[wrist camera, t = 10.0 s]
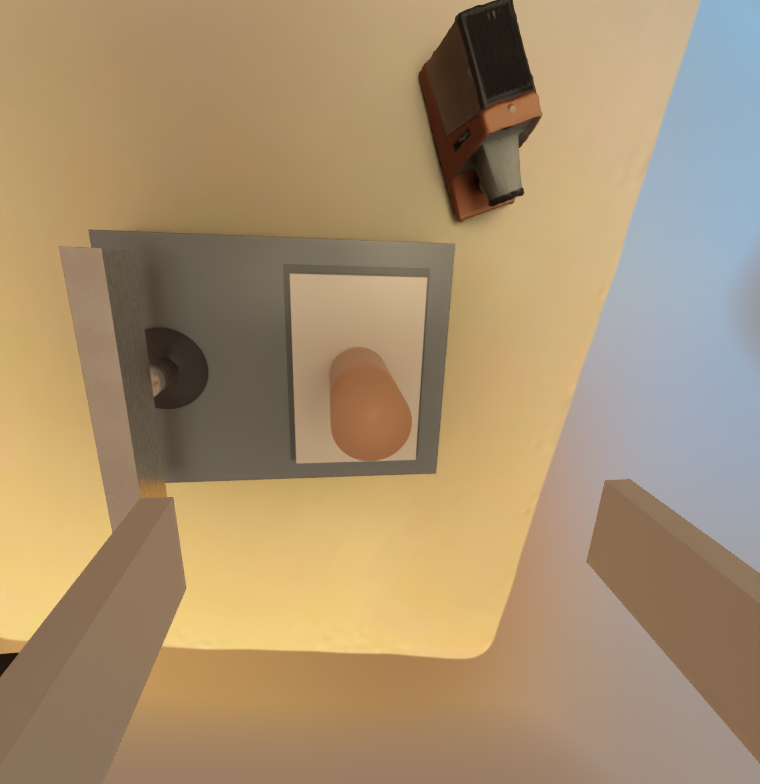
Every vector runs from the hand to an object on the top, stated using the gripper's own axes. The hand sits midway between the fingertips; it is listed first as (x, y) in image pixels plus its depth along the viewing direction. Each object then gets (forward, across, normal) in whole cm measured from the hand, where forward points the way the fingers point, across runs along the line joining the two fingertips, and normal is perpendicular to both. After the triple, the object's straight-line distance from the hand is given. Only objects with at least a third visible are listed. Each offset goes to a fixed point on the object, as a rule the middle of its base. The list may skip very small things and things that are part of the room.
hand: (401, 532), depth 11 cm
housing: (+22, -4, 0) cm, 23 cm away
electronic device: (+22, +8, +15) cm, 28 cm away
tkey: (+17, -12, 0) cm, 21 cm away
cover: (+17, 0, 0) cm, 17 cm away
